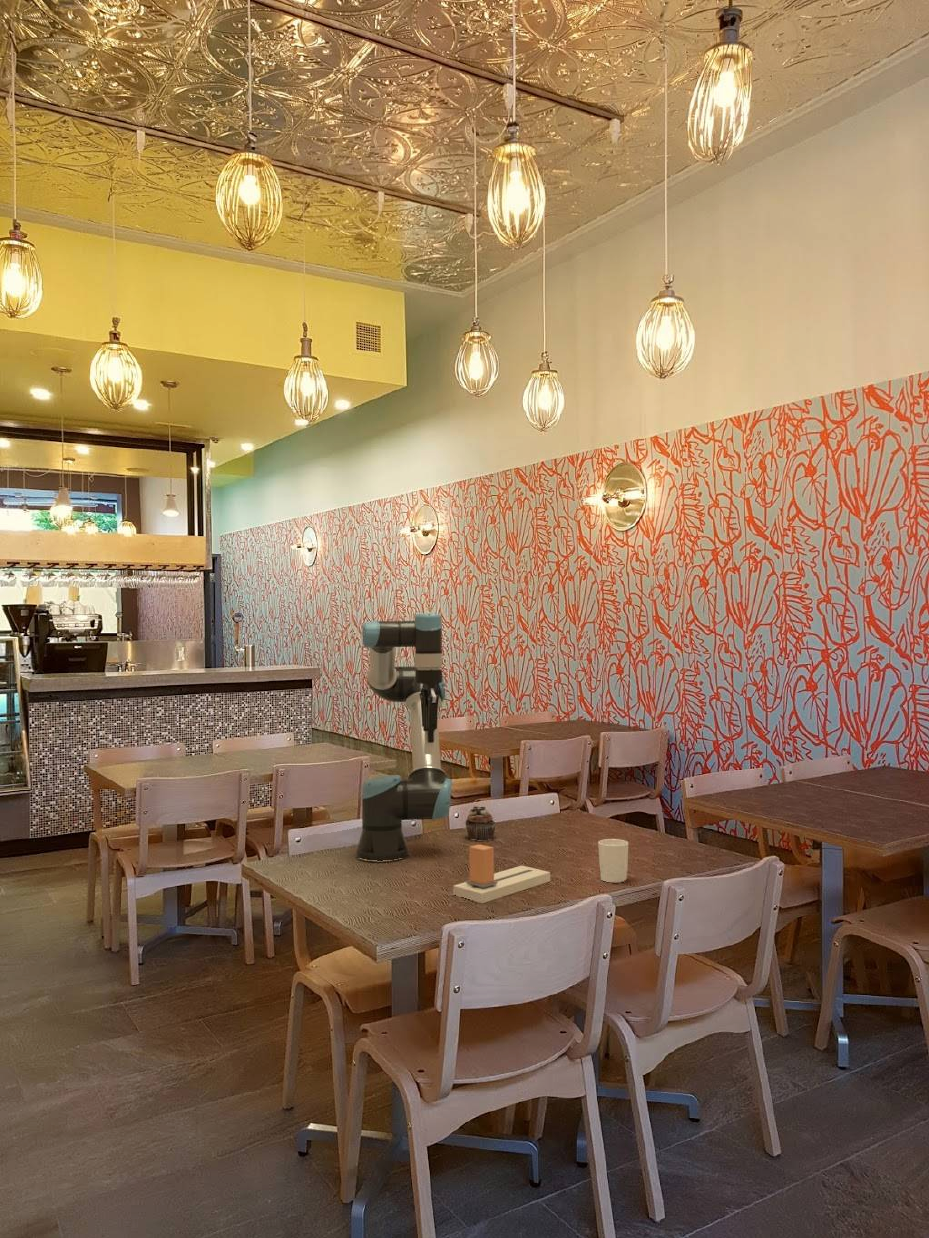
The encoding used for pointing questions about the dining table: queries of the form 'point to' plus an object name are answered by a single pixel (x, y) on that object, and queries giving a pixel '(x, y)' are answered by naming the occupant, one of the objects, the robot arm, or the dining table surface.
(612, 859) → the white cup
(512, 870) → the fader console
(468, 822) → the cupcake
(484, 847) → the fader knob
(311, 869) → the dining table surface
